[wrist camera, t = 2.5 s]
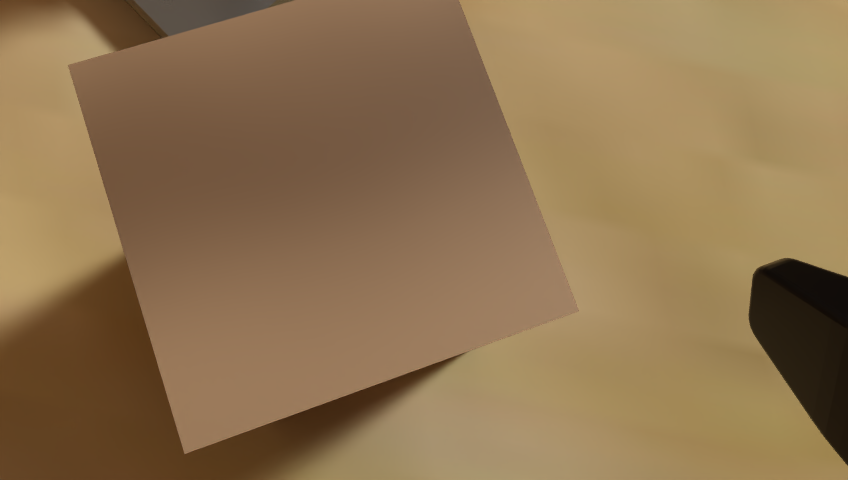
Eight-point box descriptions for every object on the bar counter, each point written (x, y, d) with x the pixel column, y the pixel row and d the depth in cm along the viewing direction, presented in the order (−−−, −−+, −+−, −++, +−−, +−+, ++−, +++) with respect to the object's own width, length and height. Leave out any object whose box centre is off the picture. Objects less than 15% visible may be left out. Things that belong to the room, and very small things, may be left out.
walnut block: (479, 343, 19) (578, 311, 10) (268, 419, 19) (184, 454, 10) (406, 143, 20) (443, -43, 11) (201, 209, 19) (67, 65, 11)
